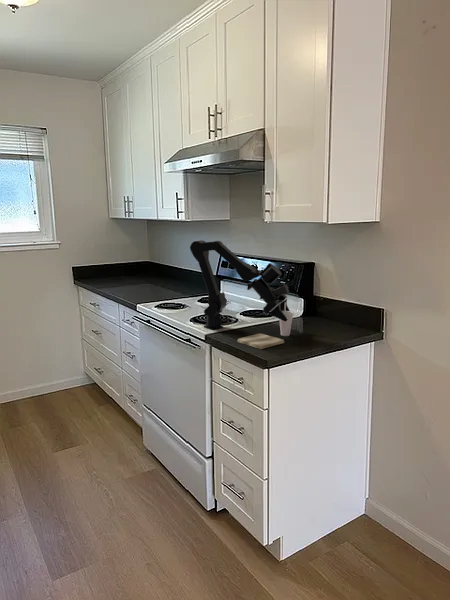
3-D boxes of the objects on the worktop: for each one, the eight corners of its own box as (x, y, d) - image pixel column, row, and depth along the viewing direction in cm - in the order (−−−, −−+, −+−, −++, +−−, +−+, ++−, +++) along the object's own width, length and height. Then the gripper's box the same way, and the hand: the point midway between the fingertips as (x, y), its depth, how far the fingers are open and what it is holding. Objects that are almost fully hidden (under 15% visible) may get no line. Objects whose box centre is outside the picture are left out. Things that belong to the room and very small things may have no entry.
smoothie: (274, 334, 192) (275, 301, 190) (286, 332, 196) (287, 300, 193) (283, 337, 187) (284, 304, 184) (296, 335, 190) (297, 302, 188)
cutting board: (237, 341, 181) (237, 338, 180) (260, 336, 189) (260, 333, 189) (261, 349, 171) (261, 346, 171) (283, 342, 180) (283, 339, 179)
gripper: (271, 281, 180) (298, 310, 178) (283, 275, 197) (307, 302, 195) (252, 299, 184) (278, 328, 182) (265, 291, 201) (288, 318, 199)
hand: (289, 318), depth 190 cm, fingers open, 8 cm apart
